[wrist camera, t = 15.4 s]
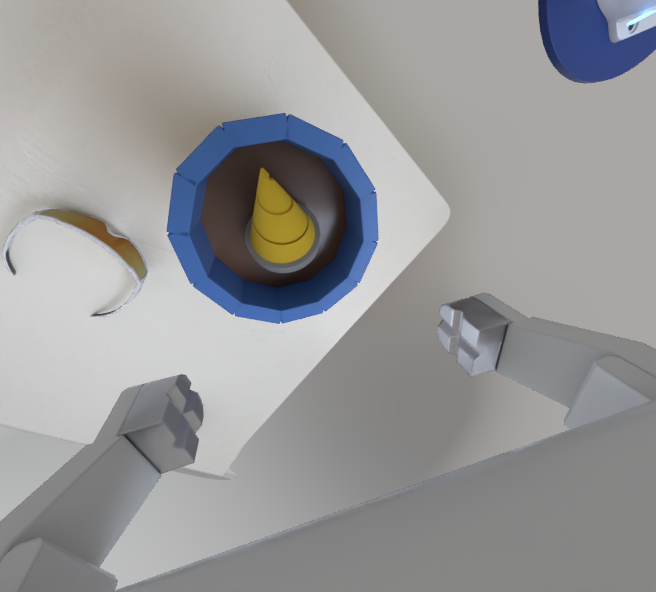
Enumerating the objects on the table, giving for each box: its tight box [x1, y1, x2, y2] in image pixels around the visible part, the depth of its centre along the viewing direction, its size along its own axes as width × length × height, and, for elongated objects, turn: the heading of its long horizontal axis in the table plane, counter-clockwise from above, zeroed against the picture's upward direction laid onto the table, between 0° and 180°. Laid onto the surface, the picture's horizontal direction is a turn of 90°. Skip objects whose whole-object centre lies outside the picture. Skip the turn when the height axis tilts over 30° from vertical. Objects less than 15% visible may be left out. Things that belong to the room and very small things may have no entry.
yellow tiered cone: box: [245, 168, 320, 273], centre depth 18 cm, size 5×5×10 cm
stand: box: [201, 141, 347, 288], centre depth 29 cm, size 14×14×20 cm
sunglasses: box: [3, 209, 148, 318], centre depth 36 cm, size 14×15×5 cm
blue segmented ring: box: [167, 113, 378, 324], centre depth 19 cm, size 13×13×4 cm
